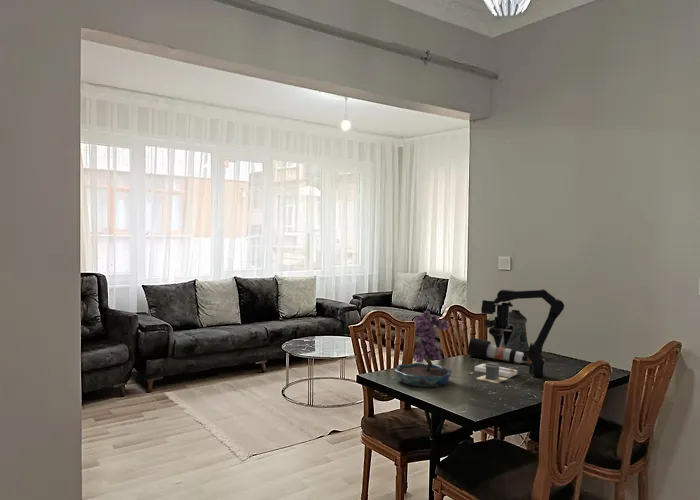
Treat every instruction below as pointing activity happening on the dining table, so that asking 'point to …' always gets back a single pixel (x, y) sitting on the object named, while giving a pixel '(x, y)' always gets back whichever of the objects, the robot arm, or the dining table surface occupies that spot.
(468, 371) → the dining table surface
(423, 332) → the bonsai tree
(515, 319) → the beer stein
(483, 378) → the birch pad
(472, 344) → the striped cylinder
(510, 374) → the switch housing
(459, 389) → the dining table surface
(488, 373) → the block
